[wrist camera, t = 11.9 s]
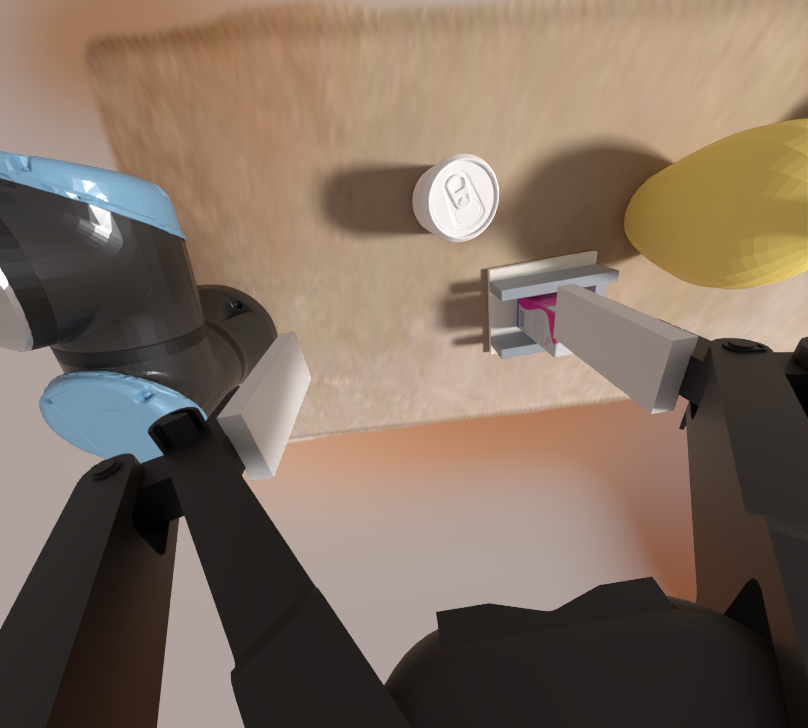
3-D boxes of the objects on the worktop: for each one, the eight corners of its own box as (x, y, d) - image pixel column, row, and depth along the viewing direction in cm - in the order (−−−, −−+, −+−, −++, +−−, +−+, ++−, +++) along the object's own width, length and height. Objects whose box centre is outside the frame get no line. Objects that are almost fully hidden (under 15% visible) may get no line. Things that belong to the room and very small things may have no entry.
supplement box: (552, 321, 49) (596, 352, 39) (516, 327, 49) (551, 359, 39) (555, 286, 46) (604, 309, 36) (517, 292, 46) (555, 316, 36)
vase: (667, 280, 48) (966, 361, 24) (582, 252, 45) (823, 312, 21) (744, 165, 41) (1280, 111, 17) (649, 122, 38) (1134, -20, 14)
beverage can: (428, 244, 43) (443, 258, 33) (401, 186, 40) (409, 180, 29) (480, 214, 42) (514, 218, 31) (457, 151, 38) (487, 132, 28)
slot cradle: (489, 351, 52) (501, 368, 47) (487, 268, 46) (501, 277, 40) (581, 336, 52) (604, 351, 47) (593, 250, 45) (621, 257, 40)
